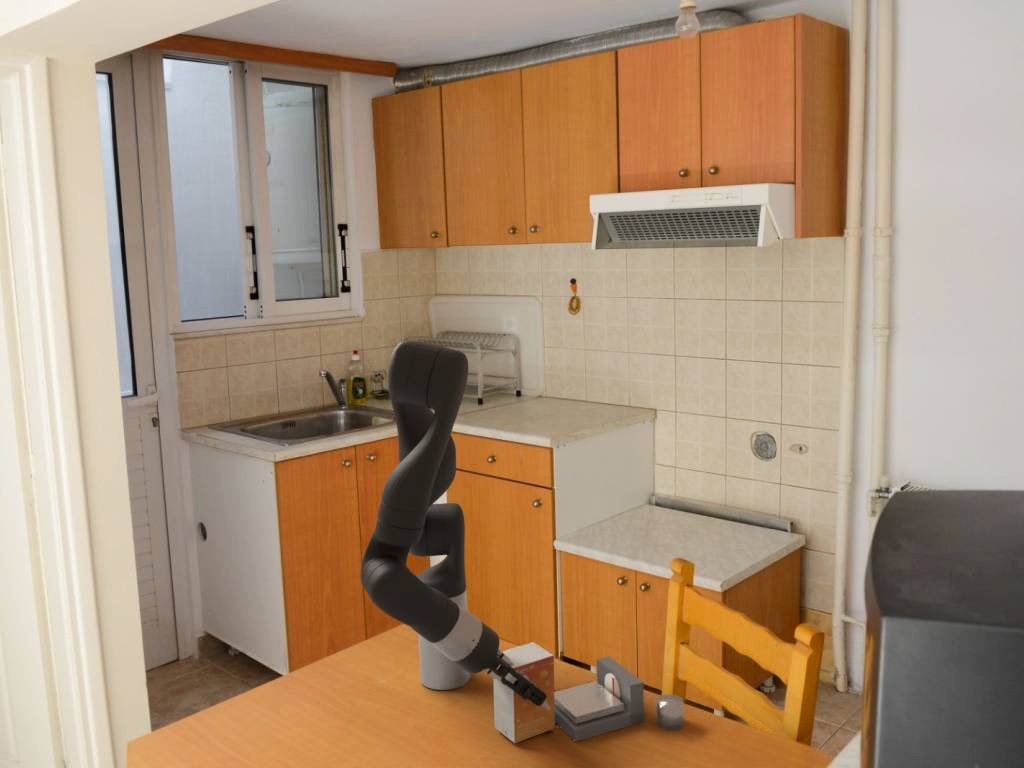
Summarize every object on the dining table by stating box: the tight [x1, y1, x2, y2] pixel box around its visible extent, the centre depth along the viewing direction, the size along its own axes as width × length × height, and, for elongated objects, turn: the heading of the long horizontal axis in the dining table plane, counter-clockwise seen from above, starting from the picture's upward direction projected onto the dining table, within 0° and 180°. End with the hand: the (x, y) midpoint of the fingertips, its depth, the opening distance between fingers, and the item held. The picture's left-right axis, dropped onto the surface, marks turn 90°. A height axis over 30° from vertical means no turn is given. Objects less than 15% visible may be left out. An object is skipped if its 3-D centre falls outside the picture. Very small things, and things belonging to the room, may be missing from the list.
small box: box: [492, 641, 556, 744], centre depth 153 cm, size 8×6×13 cm
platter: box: [554, 680, 624, 724], centre depth 157 cm, size 9×9×1 cm
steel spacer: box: [656, 694, 685, 731], centre depth 155 cm, size 4×4×4 cm
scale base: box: [554, 656, 645, 742], centre depth 158 cm, size 11×13×7 cm
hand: (532, 690), depth 154 cm, fingers closed on small box, 7 cm apart
